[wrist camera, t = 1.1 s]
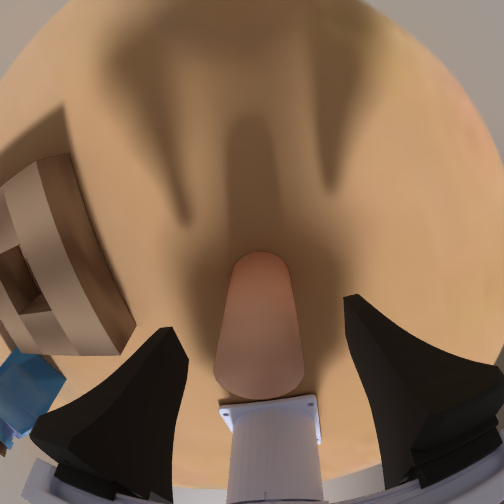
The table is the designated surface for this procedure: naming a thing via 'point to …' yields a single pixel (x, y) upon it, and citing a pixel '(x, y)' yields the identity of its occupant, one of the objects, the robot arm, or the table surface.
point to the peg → (259, 331)
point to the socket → (56, 268)
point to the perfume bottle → (25, 394)
